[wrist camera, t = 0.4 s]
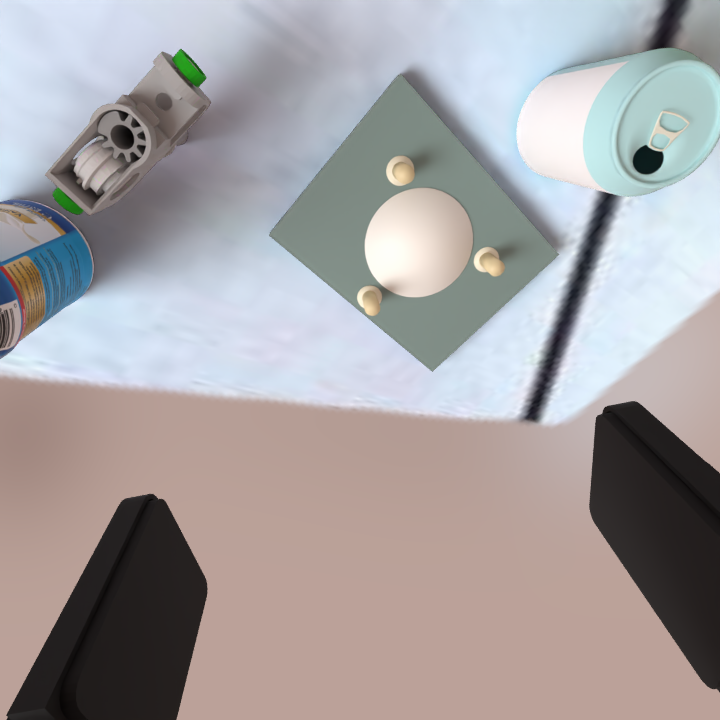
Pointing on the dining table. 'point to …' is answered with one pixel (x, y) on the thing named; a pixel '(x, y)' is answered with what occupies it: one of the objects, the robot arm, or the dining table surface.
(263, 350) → the dining table surface
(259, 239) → the dining table surface
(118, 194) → the mechanical component
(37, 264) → the beverage bottle
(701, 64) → the can
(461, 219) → the pin board
